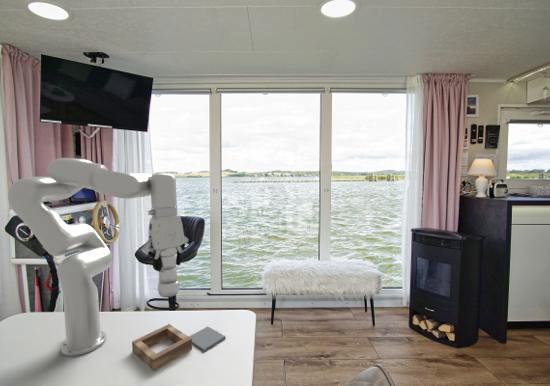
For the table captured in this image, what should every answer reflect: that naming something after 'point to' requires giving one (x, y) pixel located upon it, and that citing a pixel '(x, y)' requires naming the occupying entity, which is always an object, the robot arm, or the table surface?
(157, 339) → the wooden frame
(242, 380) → the table surface
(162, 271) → the plastic bottle
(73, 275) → the robot arm
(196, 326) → the table surface
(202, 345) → the rubber mat
